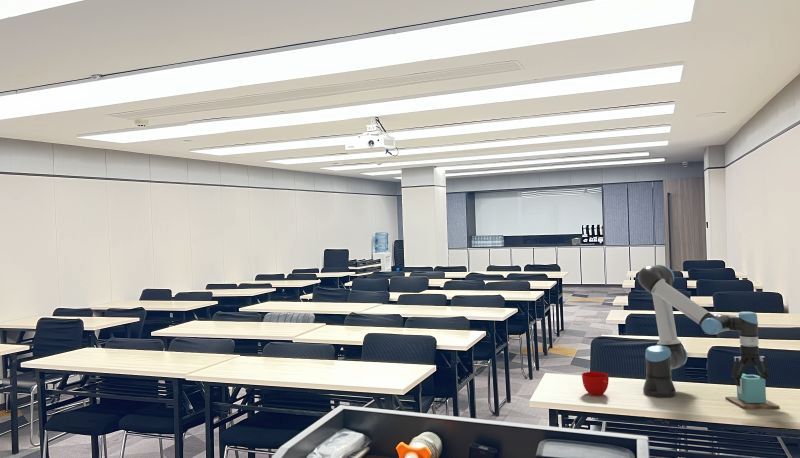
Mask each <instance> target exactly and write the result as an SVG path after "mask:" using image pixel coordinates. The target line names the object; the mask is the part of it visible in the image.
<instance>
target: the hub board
mask: <svg viewBox="0 0 800 458" xmlns="http://www.w3.org/2000/svg"><path fill="white" fill-rule="evenodd" d="M724 398H725V400H726V401H728V402H729V403H732V404H734V405H735V406H738V407H739V408H741V409H742V410H768V409H769V410H773V409H775V410H777V409H778V410H780V409H781V406H780V405H779V404H776V403H774V402H772V401H770V400H768V399H766V403H746V402H744V401H742V400H740V399H738V398H737V396H725V397H724Z"/></svg>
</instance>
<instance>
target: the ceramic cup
mask: <svg viewBox="0 0 800 458" xmlns="http://www.w3.org/2000/svg"><path fill="white" fill-rule="evenodd" d="M609 378H610V377H609V374H608V373H606V372H599V371H586V372H583V373H581V379H582V385H583V388H584V389H585V391H586V392H587V393H588V395H590V396H593V397H600V396H603V394H605V393H606V391H607V389H608V387H609V386H608V385H609Z"/></svg>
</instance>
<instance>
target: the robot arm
mask: <svg viewBox="0 0 800 458" xmlns="http://www.w3.org/2000/svg"><path fill="white" fill-rule="evenodd" d="M637 280H638V283H639V285H640V286H641V287H642V288H643V289H645V290H646V291H647V292H649V294H651V295H652V300H653V301H652V302H653V308H654V313H655V320H656V326H657V332H658V337H659V340H658V341H657V343H656V345H651V346H648V347H647V348H646V349H645V354H644V357H645V372H646V373H645V375H646V378H645V382H644V385H643V389H642V390H643V391H642V392H643V394H644V395H646V396H648V397H649V396H650V397H653V398H667V399H668V398H672V397H676V396H677V390H676V388H675V384H674V382H673V380H672V371H673V370H674V369H679V368H681V367H682V366H684V365H685V364H686V362H687V360H688V353H687V350H686V348H684V347H683V344H682V341H681V340H679V338H678V335H677V329H676V323H675V322H676V321H675V317H674V311H673V308H675V309H676V310H678V311H679V312H680V313H682V314H683V315H685V316H686V317H687V318H689V319H690V320H692V321H693V322H695V323H696V324H697V325H699V326H700V327H701V329H702V330H703V332H704V333H705V334H708V335H718V334H720V333H723V332H726V331H731V332H732V331H733V332H739V344H740V345H739V352H740V355H739V356H733V365H732V370H731V373H730V376H731V378H733V379H734V380H735V386H736V387H737V386H738V393H740V394H743V389H742V380H741V379H740V378H741V376H742V374H744V372H745V370H746V368H747V367H749V366H754V368H755V370H756V371H757V373H758V376H760V377H762V378H764V379H765V387H766V386H767V380H768V379H770V378H771V375H770V372H769V368H768V364H767V357H766V356H763V355H760V347H759V321H758V314H757V313H756V312H753V311H740V312H738V315H732V314H723V313H715V314H713V313H712V312H709V311H708V310H707V309H705V308H704V307H702V306H700V304H697V303H696V302H695V301H694V300H692V299H691V298H689V297H688V296H686V295H685V294H683V293H681V292H680V291H679V290H677V289H676V288H674V286H673V283H674V281H675V274H674V272H673V270H672V269H671V268H669V266H666V265H663V264H662V265H661V264H656V265H649V266H644V267H642V268H641V269H640V270H639V272H638V275H637ZM759 361H760V364H759ZM740 362H741V363H740ZM760 365H761V366H760ZM761 367H762V368H761Z"/></svg>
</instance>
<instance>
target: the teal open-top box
mask: <svg viewBox="0 0 800 458" xmlns="http://www.w3.org/2000/svg"><path fill="white" fill-rule="evenodd" d="M740 379H741V380H742V389H743V394H740V393H738V386H736V397H737V398H738V399H740V400H742V401H744V402H746V403H766V400H767V393H766V386H765V379H764V378H762V377H760V375H756V374H745V375H742V376H741V378H740Z"/></svg>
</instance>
